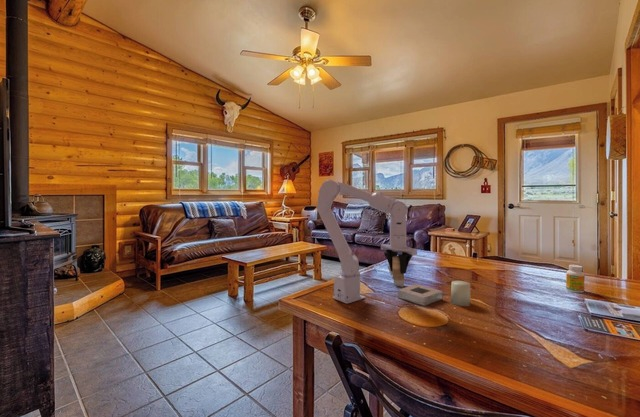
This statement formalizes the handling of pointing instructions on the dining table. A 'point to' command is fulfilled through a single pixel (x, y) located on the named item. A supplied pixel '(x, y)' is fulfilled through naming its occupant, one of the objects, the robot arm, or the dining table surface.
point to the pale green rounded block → (460, 293)
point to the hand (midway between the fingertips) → (398, 272)
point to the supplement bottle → (575, 279)
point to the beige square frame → (420, 294)
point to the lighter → (397, 282)
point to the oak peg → (396, 269)
